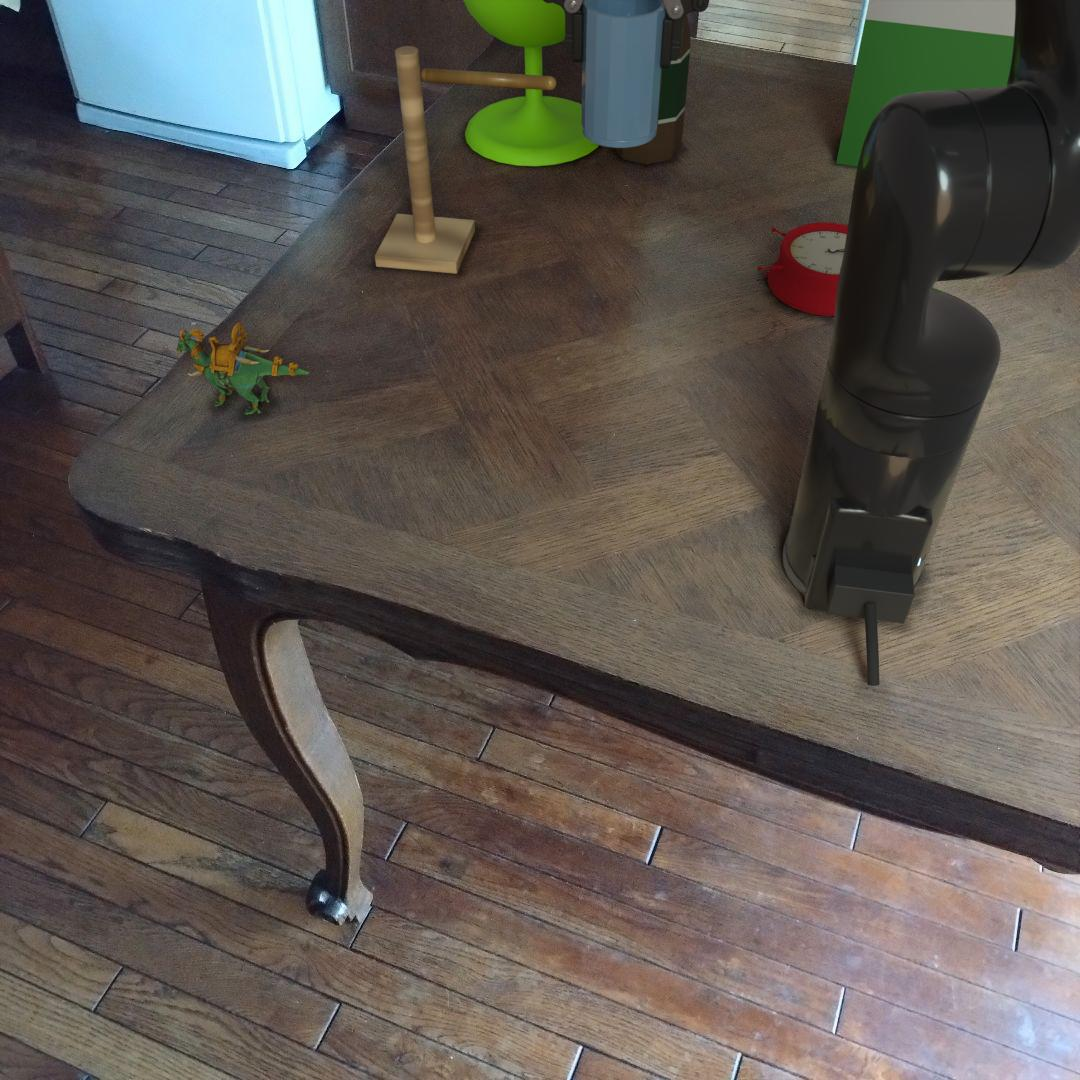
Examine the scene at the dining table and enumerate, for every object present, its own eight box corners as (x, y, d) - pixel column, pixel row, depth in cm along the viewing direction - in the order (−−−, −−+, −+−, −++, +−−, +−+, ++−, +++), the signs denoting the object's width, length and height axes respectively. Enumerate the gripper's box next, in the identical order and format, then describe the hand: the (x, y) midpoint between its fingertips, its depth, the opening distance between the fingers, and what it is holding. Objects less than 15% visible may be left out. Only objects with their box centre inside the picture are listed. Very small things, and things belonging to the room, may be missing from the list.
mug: (653, 150, 85) (661, 20, 77) (576, 145, 85) (578, 15, 78) (665, 95, 92) (674, -30, 84) (594, 90, 92) (597, -33, 85)
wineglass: (463, 168, 115) (451, -8, 102) (465, 103, 126) (454, -63, 113) (610, 164, 116) (616, -13, 102) (599, 99, 127) (604, -67, 113)
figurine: (200, 381, 90) (175, 299, 84) (327, 408, 87) (311, 325, 81) (180, 403, 88) (153, 320, 82) (310, 431, 85) (292, 348, 79)
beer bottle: (611, 132, 121) (620, -106, 103) (679, 133, 120) (700, -106, 103) (611, 165, 115) (621, -80, 98) (683, 165, 115) (705, -80, 98)
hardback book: (1009, 156, 116) (1089, -90, 98) (1006, 188, 111) (1089, -65, 93) (846, 133, 120) (895, -107, 102) (836, 163, 115) (885, -83, 98)
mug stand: (549, 282, 100) (548, 79, 86) (376, 266, 102) (347, 66, 88) (563, 238, 105) (563, 40, 91) (398, 224, 107) (374, 29, 94)
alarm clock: (771, 213, 101) (939, 203, 95) (776, 272, 105) (937, 265, 99) (751, 270, 94) (930, 264, 88) (757, 331, 98) (929, 328, 92)
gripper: (517, -181, 69) (523, 75, 82) (738, -175, 68) (711, 87, 80) (538, -209, 74) (541, 37, 87) (744, -203, 73) (718, 48, 85)
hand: (622, 60), depth 83 cm, fingers closed on mug, 6 cm apart
